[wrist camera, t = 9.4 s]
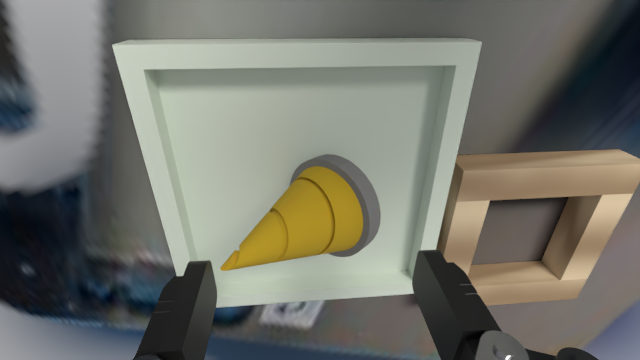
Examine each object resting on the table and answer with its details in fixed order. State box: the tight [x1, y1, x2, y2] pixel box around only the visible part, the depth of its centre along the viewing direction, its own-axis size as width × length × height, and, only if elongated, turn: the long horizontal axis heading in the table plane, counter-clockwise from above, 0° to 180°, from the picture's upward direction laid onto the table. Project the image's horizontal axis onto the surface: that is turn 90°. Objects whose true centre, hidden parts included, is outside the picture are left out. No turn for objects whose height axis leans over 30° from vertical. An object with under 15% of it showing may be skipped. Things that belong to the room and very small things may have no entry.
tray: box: [112, 37, 482, 308], centre depth 19 cm, size 16×16×2 cm
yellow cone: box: [220, 154, 381, 271], centre depth 16 cm, size 5×5×10 cm
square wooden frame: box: [436, 149, 640, 305], centre depth 22 cm, size 11×11×2 cm
